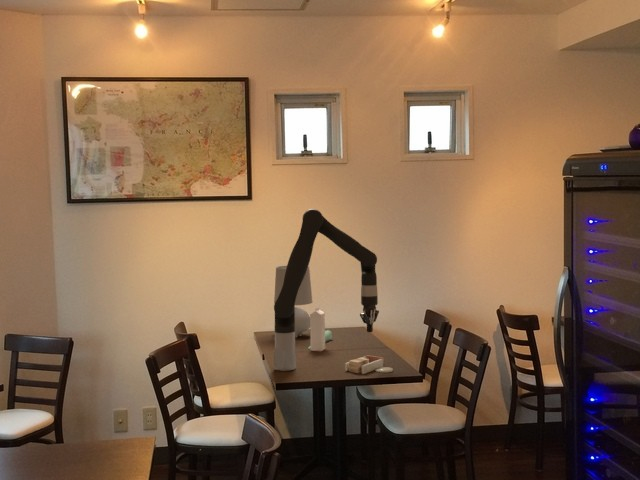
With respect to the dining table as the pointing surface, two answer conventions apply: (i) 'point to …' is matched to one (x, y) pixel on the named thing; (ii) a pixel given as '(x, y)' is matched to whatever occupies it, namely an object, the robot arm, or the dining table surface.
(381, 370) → the coaster
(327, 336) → the long green cone
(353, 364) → the block
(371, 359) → the channel
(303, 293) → the table lamp
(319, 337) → the milk
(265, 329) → the dining table surface
